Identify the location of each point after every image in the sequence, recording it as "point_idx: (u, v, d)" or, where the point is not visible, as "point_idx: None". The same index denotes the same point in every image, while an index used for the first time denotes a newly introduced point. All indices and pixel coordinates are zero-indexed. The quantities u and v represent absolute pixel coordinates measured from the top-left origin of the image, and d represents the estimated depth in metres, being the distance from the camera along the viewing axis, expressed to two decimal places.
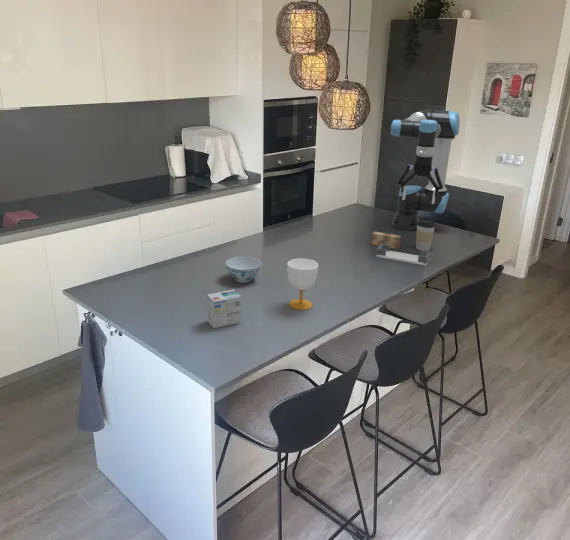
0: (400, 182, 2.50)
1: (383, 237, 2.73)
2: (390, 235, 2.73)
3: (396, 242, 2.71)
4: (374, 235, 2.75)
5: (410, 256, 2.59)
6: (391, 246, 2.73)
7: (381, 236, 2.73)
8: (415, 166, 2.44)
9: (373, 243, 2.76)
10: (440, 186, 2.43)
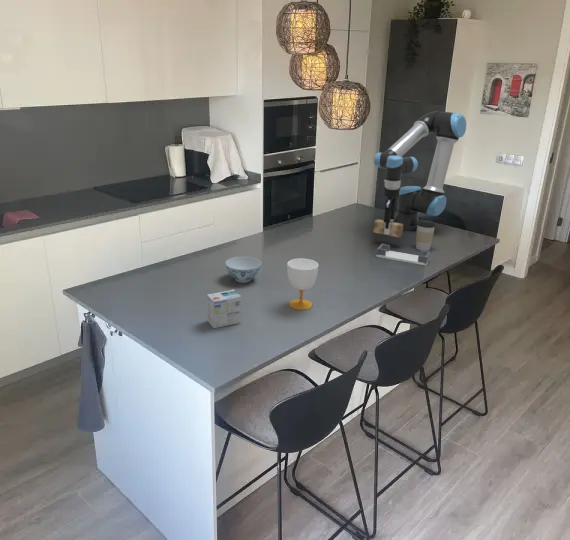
0: None
1: None
2: (392, 223, 2.71)
3: (397, 230, 2.69)
4: (376, 223, 2.73)
5: (410, 256, 2.59)
6: (392, 234, 2.71)
7: (383, 224, 2.71)
8: None
9: (375, 231, 2.75)
10: (384, 219, 2.66)
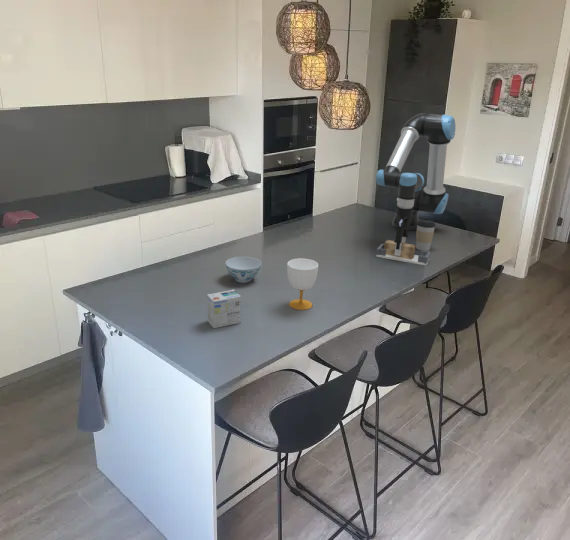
0: None
1: None
2: (403, 244, 2.57)
3: (409, 252, 2.55)
4: (386, 244, 2.59)
5: None
6: (404, 256, 2.57)
7: (394, 245, 2.57)
8: None
9: None
10: None
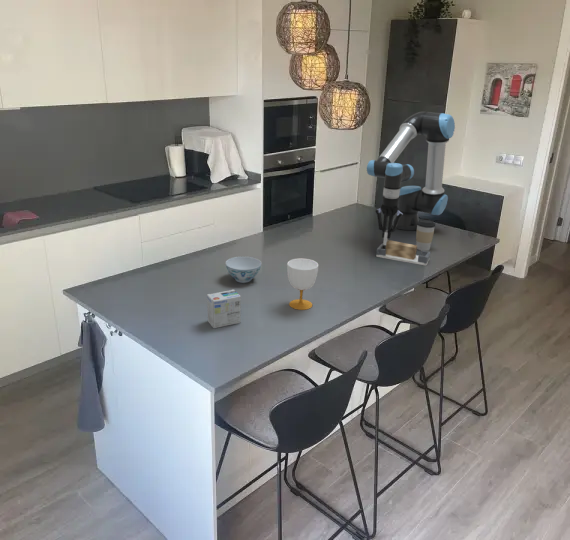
0: (380, 227, 2.58)
1: (398, 246, 2.57)
2: (405, 244, 2.57)
3: (411, 252, 2.54)
4: (388, 244, 2.59)
5: None
6: (406, 256, 2.56)
7: (395, 245, 2.57)
8: (381, 207, 2.54)
9: (387, 252, 2.60)
10: (393, 229, 2.55)
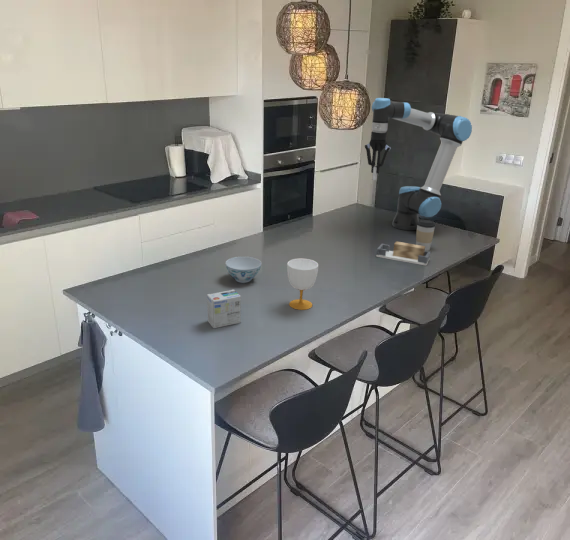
0: (369, 162, 2.67)
1: (406, 247, 2.56)
2: (413, 245, 2.56)
3: (420, 253, 2.54)
4: (396, 245, 2.57)
5: None
6: (414, 257, 2.56)
7: (404, 246, 2.56)
8: (370, 142, 2.63)
9: (395, 254, 2.59)
10: (382, 163, 2.64)
